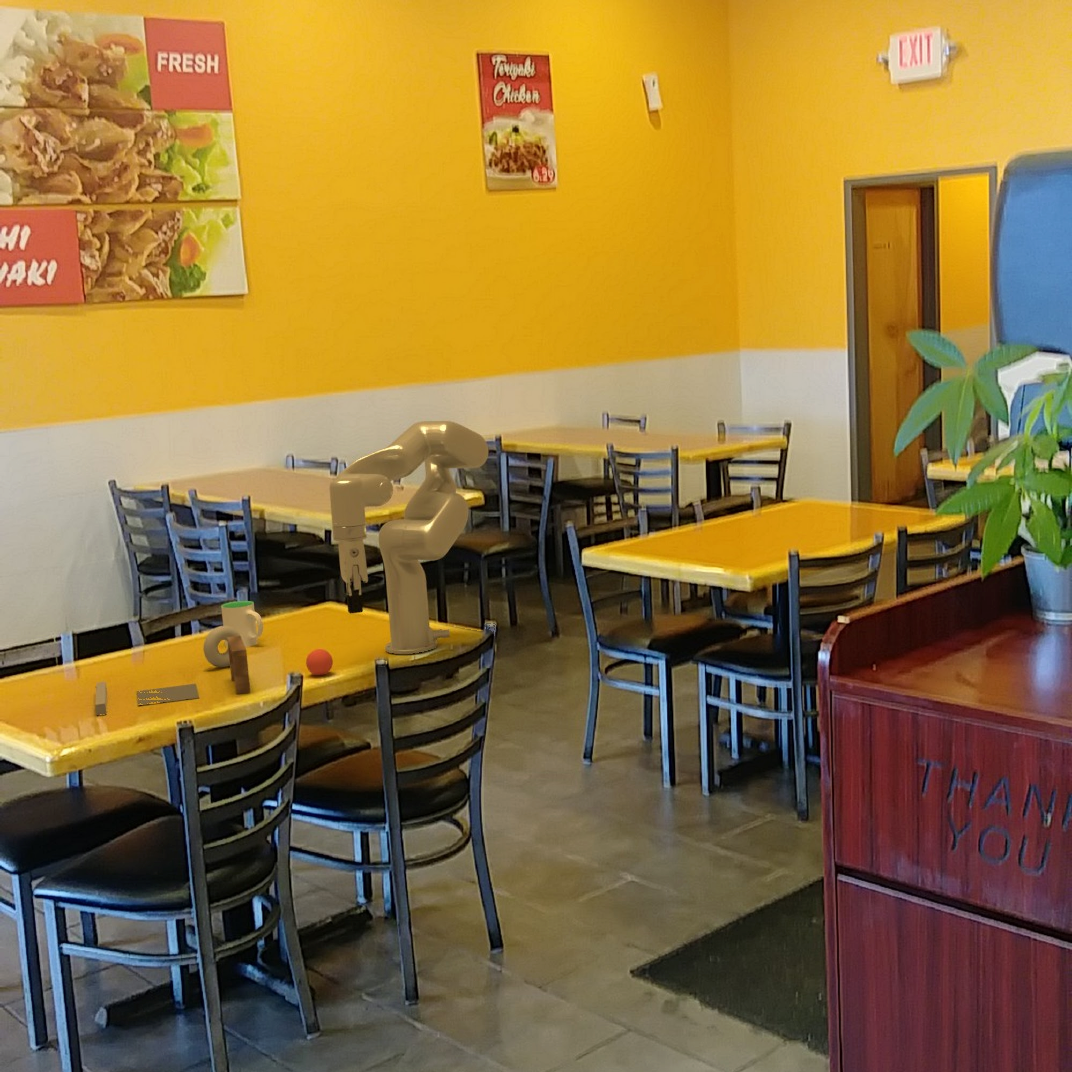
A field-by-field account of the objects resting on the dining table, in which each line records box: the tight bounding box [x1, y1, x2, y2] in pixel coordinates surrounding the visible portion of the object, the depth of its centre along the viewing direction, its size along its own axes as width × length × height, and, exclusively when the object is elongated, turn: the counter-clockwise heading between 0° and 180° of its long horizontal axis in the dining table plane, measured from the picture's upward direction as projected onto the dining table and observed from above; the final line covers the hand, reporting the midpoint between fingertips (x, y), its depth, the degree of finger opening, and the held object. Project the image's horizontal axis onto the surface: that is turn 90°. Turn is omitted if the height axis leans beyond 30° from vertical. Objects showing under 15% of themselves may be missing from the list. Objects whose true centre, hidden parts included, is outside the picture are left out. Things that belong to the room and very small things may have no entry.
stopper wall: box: [94, 681, 108, 716], centre depth 309 cm, size 2×20×2 cm, turn 16°
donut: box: [203, 625, 240, 668], centre depth 335 cm, size 10×4×10 cm, turn 133°
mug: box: [220, 600, 264, 648], centre depth 357 cm, size 12×8×10 cm
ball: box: [305, 648, 334, 676], centre depth 322 cm, size 6×6×6 cm
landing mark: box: [136, 683, 200, 706], centre depth 313 cm, size 13×13×1 cm
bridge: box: [227, 636, 251, 695], centre depth 316 cm, size 3×15×10 cm, turn 16°
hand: (355, 612), depth 322 cm, fingers closed
